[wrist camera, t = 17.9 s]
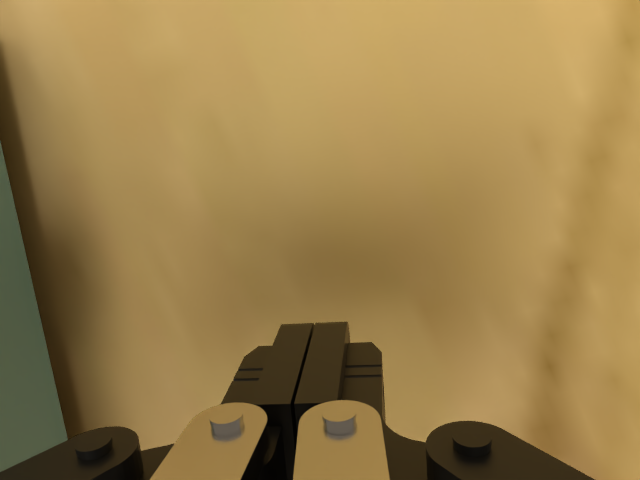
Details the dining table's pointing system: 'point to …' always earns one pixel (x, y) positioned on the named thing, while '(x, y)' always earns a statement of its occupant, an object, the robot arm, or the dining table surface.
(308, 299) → the dining table surface
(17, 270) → the drawer
